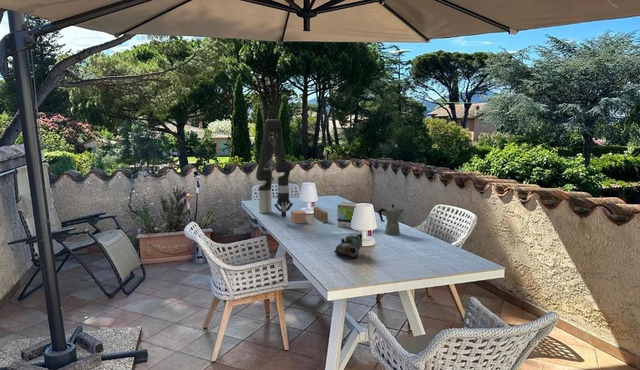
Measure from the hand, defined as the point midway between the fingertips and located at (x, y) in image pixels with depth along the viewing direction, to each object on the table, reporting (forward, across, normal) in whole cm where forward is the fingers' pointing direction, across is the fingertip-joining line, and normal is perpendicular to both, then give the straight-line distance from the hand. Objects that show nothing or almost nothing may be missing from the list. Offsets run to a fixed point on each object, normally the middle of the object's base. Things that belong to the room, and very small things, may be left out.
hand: (283, 217), depth 289 cm
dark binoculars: (+4, -12, +80) cm, 81 cm away
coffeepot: (+4, -54, +49) cm, 73 cm away
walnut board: (+4, -26, 0) cm, 27 cm away
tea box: (+4, -39, +24) cm, 45 cm away
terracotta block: (+4, -10, 0) cm, 11 cm away
